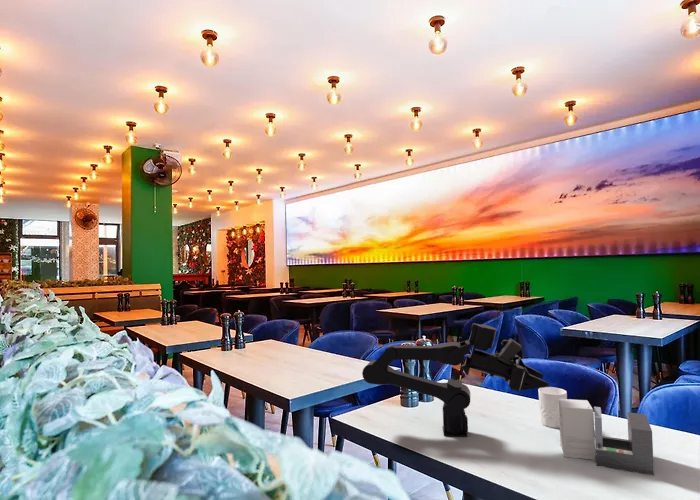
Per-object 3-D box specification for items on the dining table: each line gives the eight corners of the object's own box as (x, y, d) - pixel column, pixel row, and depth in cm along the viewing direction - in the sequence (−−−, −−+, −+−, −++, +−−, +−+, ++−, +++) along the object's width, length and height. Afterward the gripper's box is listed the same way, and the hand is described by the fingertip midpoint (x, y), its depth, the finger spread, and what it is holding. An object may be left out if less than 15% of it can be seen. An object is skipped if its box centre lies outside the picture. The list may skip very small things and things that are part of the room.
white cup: (571, 429, 128) (570, 395, 128) (542, 428, 129) (541, 394, 130) (564, 420, 136) (562, 387, 136) (536, 418, 137) (535, 386, 137)
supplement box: (590, 448, 115) (588, 399, 115) (596, 460, 108) (594, 409, 108) (559, 445, 118) (557, 397, 118) (563, 457, 111) (561, 406, 111)
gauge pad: (596, 461, 105) (594, 419, 106) (595, 445, 115) (594, 406, 115) (603, 462, 105) (601, 420, 105) (602, 446, 114) (600, 407, 114)
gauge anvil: (596, 465, 105) (594, 423, 106) (595, 446, 116) (593, 408, 116) (654, 475, 100) (652, 431, 100) (647, 454, 111) (645, 414, 111)
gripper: (496, 342, 117) (559, 359, 112) (493, 331, 135) (547, 346, 130) (486, 382, 117) (548, 401, 113) (484, 366, 135) (537, 382, 131)
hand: (545, 380), depth 122 cm, fingers open, 9 cm apart
